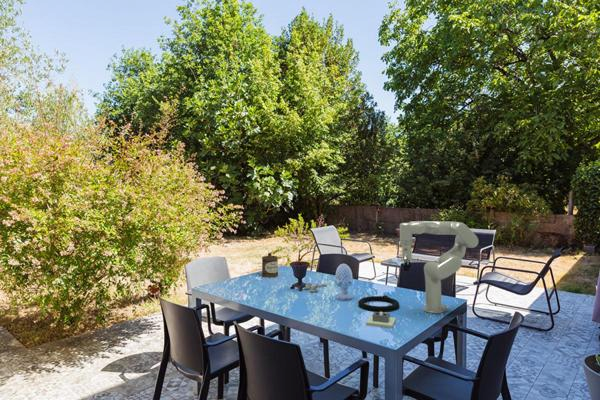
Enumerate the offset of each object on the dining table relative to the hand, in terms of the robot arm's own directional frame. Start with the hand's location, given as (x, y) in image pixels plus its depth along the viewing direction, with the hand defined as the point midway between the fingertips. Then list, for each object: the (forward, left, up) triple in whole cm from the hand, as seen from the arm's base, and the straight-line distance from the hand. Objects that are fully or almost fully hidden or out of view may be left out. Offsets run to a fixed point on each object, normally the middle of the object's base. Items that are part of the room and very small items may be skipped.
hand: (407, 269), depth 238 cm
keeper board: (+13, +24, -28) cm, 39 cm away
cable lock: (+20, -10, -29) cm, 36 cm away
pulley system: (+78, -39, -29) cm, 92 cm away
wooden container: (+133, -69, -28) cm, 153 cm away
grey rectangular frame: (+13, +24, -26) cm, 38 cm away
